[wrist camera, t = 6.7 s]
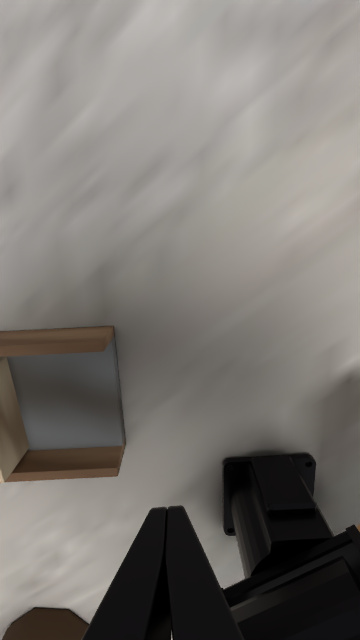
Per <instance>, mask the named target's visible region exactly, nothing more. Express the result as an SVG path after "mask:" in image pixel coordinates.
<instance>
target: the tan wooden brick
mask: <svg viewBox="0 0 360 640" xmlns="http://www.w3.org/2000/svg"><path fill="white" fill-rule="evenodd" d="M28 449H29V443H28V439H27V435H26V432H25V428H24V424H23V420H22V416H21V412H20V408H19V404H18V400H17V396H16V392H15V388H14V384H13V380H12V376H11V372H10V368H9V364H8V360H7V357H0V483H4V482H5V481H6V480H7V478H8V477H9V475H10V474H11V473H12V471H13V470H14V468H15V467H16V466H17V464H18V463H19V461H20V460H21V459H22V457H23V456H24V454H25V453H26V451H27V450H28Z"/></svg>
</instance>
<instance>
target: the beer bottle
mask: <svg viewBox="0 0 360 640" xmlns="http://www.w3.org/2000/svg"><path fill="white" fill-rule="evenodd" d="M88 626H89V625H88V624H87V623H85V622H84V621H83V620H81V619H80V618H79V617H78V616H76V615H75V614H74V613H72V612H71V611H70V610H65V609H45V608H34V609H33V610H32V611H30V612H29V613H27V614H26V615H24V616H23V617H21V618H20V619H18V620H17V621H15V622H14V623H12V624H11V626H10V627H9V628H8V629H7V631H6V633H5V635H4V637H3V639H2V640H81V639H82V637H83V636H84V634H85V632H86V630H87V628H88Z"/></svg>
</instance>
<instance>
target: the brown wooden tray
mask: <svg viewBox="0 0 360 640" xmlns="http://www.w3.org/2000/svg"><path fill="white" fill-rule="evenodd" d="M0 357H7V360H8V364H9V368H10V372H11V376H12V380H13V384H14V388H15V392H16V396H17V400H18V404H19V408H20V412H21V416H22V420H23V424H24V428H25V432H26V435H27V439H28V443H29V449H28V450H27V451H26V453H25V454H24V456H23V457H22V459H21V460H20V461H19V463H18V464H17V466H16V467H15V468H14V470H13V471H12V473H11V474H10V475H9V477H8V478H7V480H6V481H5V482H17V481H36V480H55V479H75V478H94V477H113V476H118V474H119V470H120V466H121V461H122V457H123V453H124V449H125V445H126V441H125V432H124V422H123V413H122V403H121V394H120V384H119V375H118V365H117V356H116V346H115V337H114V327H113V326H102V327H82V328H61V329H41V330H20V331H0Z"/></svg>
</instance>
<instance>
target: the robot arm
mask: <svg viewBox="0 0 360 640" xmlns="http://www.w3.org/2000/svg"><path fill="white" fill-rule="evenodd" d="M307 461H309V462H308V463H306V462H307ZM229 465H232V467H228V466H229ZM222 466H223V528H224V532H225V534H226V535H229V536H235V535H236V537H237V542H238V547H239V552H240V556H241V561H242V566H243V570H244V575H245V579H244V580H242V581H240V582H238V583H236V584H234V585H232V586H229V587H227V588H225V589H223V588H221V587H220V585H219V583H218V581H217V578H216V576H215V574H214V572H213V570H212V567H211V565H210V563H209V561H208V559H207V557H206V554H205V552H204V550H203V548H202V546H201V543H200V541H199V539H198V537H197V535H196V532H195V530H194V528H193V526H192V524H191V521H190V519H189V517H188V515H187V513H186V510H185V508H184V507H183V506H181V505H180V506H170V507H168V509H167V508H166V507H158V508H152V509H151V510H150V512H149V513H148V515H147V517H146V519H145V521H144V523H143V525H142V526H141V528H140V530H139V532H138V534H137V536H136V538H135V540H134V542H133V543H132V545H131V547H130V549H129V551H128V553H127V555H126V557H125V558H124V560H123V562H122V564H121V566H120V568H119V570H118V572H117V573H116V575H115V577H114V579H113V581H112V583H111V585H110V587H109V589H108V590H107V592H106V594H105V596H104V598H103V600H102V602H101V604H100V605H99V607H98V609H97V611H96V613H95V615H94V617H93V619H92V620H91V622H90V624H89V626H88V628H87V630H86V632H85V634H84V636H83V637H82V639H81V640H171V632H172V638H173V640H360V532H359V531H358V529H357V528H356V526H355V525H352V526H350V527H348V528H346V531H345V532H343V533H340V534H338V535H336V536H334V535H333V533H332V531H331V529H330V528H329V526H328V524H327V522H326V520H325V518H324V517H323V515H322V513H321V511H320V509H319V507H318V506H317V504H316V502H315V500H314V498H313V494H314V481H315V469H316V462H315V460H314V458H313V457H312V456H311V455H309V454H301V455H282V456H262V457H243V458H228V459H226V460H224V462H223V464H222Z"/></svg>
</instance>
